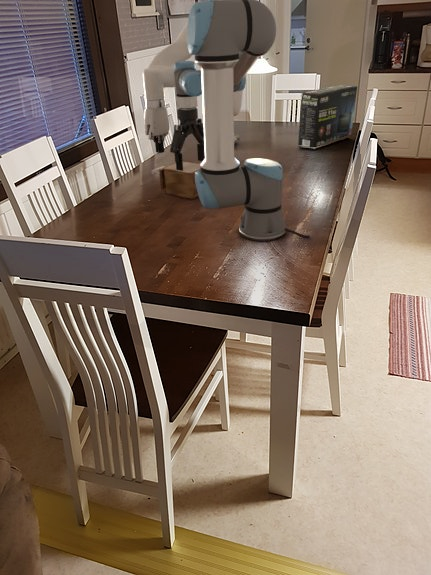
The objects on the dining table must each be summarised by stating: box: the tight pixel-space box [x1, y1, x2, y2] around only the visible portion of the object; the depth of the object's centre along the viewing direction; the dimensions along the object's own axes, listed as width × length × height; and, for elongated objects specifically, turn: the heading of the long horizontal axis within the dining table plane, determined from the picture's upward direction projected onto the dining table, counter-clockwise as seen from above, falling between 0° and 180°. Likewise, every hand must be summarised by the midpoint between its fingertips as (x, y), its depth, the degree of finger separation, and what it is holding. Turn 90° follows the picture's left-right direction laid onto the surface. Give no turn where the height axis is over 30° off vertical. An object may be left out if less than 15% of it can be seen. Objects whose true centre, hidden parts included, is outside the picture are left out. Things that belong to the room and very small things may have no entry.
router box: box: [297, 84, 358, 151], centre depth 238 cm, size 36×11×27 cm, turn 134°
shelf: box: [151, 162, 176, 190], centre depth 187 cm, size 18×10×8 cm, turn 55°
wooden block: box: [164, 161, 200, 200], centre depth 183 cm, size 13×11×10 cm
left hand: (160, 152), depth 185 cm, fingers closed
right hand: (190, 165), depth 179 cm, fingers open, 13 cm apart
